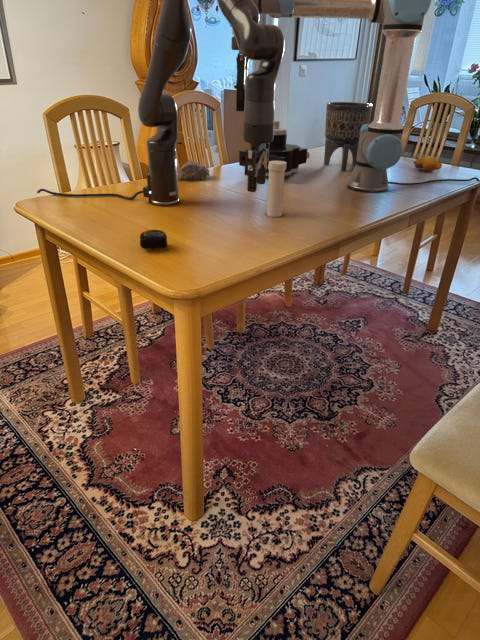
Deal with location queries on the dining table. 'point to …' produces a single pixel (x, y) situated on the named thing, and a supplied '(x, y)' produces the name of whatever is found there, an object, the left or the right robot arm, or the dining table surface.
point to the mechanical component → (282, 152)
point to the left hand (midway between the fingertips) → (256, 187)
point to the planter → (344, 129)
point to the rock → (192, 171)
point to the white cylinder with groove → (277, 165)
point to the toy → (427, 164)
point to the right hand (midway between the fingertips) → (241, 109)
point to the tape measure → (153, 239)
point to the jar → (275, 193)
